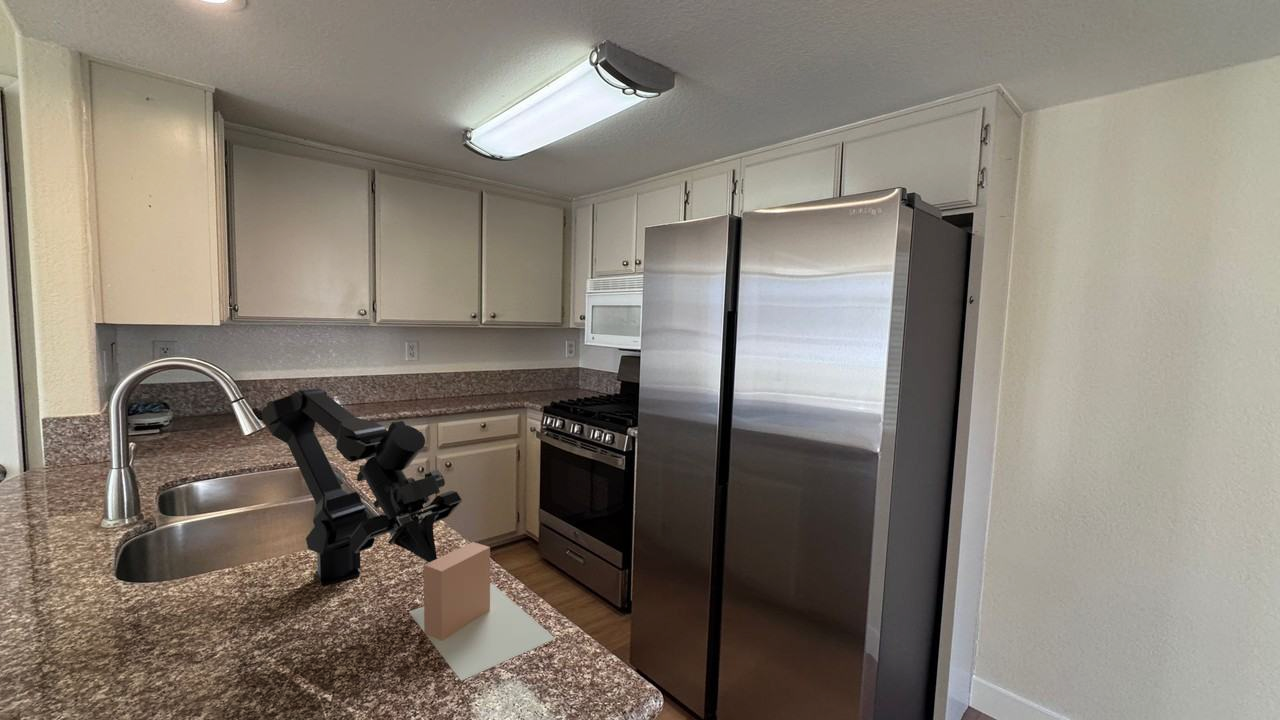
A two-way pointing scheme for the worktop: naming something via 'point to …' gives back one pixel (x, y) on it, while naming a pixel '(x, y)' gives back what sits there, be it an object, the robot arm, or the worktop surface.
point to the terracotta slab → (456, 590)
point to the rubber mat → (489, 637)
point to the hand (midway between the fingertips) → (433, 561)
